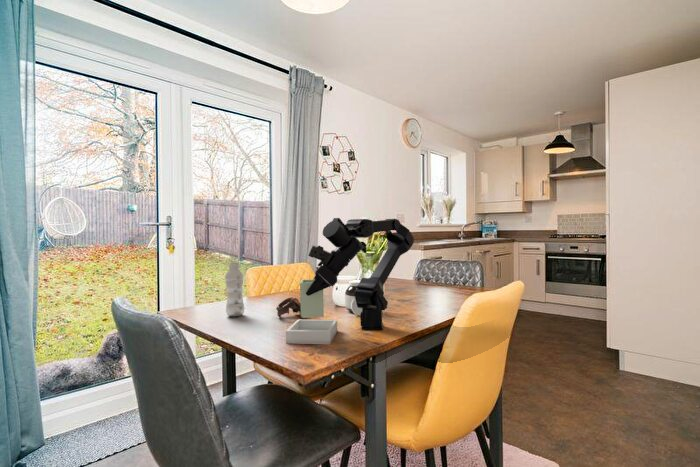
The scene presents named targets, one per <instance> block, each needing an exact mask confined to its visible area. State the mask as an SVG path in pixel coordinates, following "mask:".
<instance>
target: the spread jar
mask: <svg viewBox="0 0 700 467" xmlns="http://www.w3.org/2000/svg"><path fill="white" fill-rule="evenodd" d="M360 281H361V279H355V280H349V284H348V285H349V286H348V287H347V289H346V290H345V293H344V305H345V308H346V310H347V311H348V312H349V313H352V314H355V315H356V316H359V317H360V314H361V312H362V308H358V307H357V303H356V299H355V291H356V289H357V287H356V286H357V285H358V284H359V283H360Z"/></svg>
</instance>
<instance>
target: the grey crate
mask: <svg viewBox="0 0 700 467" xmlns="http://www.w3.org/2000/svg"><path fill="white" fill-rule="evenodd" d="M337 333H338V320H337V319H306V318H303V319H302V318H301V319H296V321H295V322H294V323H292V324H291V325H290V326H289V327H288V328H287V329H286V330H285V343H286V344H298V345H299V344H301V345H302V344H303V345H305V344H307V345H331V344H332V342H333V340H334V338H335V336H336V334H337Z"/></svg>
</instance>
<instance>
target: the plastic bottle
mask: <svg viewBox="0 0 700 467" xmlns="http://www.w3.org/2000/svg"><path fill="white" fill-rule="evenodd" d="M224 281H225V285H226V306H225V312H226V315H227V316H228V317H232V318H233V317H236V316H237V317H240V316H243V314H244V313H245V303H244V298H243V283H244V274H243V273H242V271H241V270H240V262H239V261H238V262H237V261H234V262H228V271H227V272H226V273H225V275H224Z"/></svg>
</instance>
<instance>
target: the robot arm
mask: <svg viewBox="0 0 700 467" xmlns="http://www.w3.org/2000/svg"><path fill="white" fill-rule="evenodd" d="M393 231H395V232H393ZM381 232H385V239H386V242H387V249H386V251H385V253H384V254H383V256H382V257H381V259H380V261H379V263H378V265H376V267H375V269H374V271H373V273H372V274H371V276H370V277H361V279H360V280H361V281H360V283H359V284H358V285H357V286H356V287H357V289H356V291H355V299H356V303H357V307H358V308H362V312H361V314H360V316H359V317H360V327H361V330H363V331H364V330H367V331H368V330H370V331H372V330H376V331H383V327H384V323H383V311H386V310H387V308H388V303H389V302H388V301H387V299H386V298H385V296H384V295H385V291H384V285H385V283H386V282H387V279H388V278H389V276H390V274H391V273H392V270H393V269H394V268H395V266H396V264H397V262H398V260H400V257H401V256H402V255H405V254H406V253H408V252H409V251H410V249H411V248H412V247H413V245H414V239H415V238H414V236H413V234H412V232H411V231H410V230H409V228H407V227H406V226H405V225H403V224H402V223H401V222H400V220H399V219H397V218H385V219H381V220H373V219H367V218H357V219H355V218H353V219H348V220H347V221H346V224H345V223H344V222H343V221H342V220H341V218H340V217H333V218H332V221H329V222H328V223H327V224H326V225H325V226H324V227H323V229H322V235H323V237H324V238H326V240H327V241H329V242H330V243H331V244H332V245H333V246H334V247H336V248H335V249H332V250H331V251H330V252H329V251H328V250H326V249H324V247H323V246H321V245H316V246H315V245H312V246H311V248H310V250H309V252H308V254H307V255H308V257H309V258H313V259H316V260H319V263H317V266H316V268H315V269H316V270H315V276H314V277H313V279H315V280H314V281H313V283H312V284H311V286H310V287H309V289H308V290H307V292H306V295H307V296H309V295H312V294H314V293H316V292H318V291H320V290H323V291H324V290H325V289H328V288H330V287H333V286H334V285H336V284H337V282H338V276H339V275H340V273H341V271H343V270H344V268H345V267H346V268H347V267H348V265H349V263H350V262H351V261H352V260H353V259H354V258H355V257H356V256H357V255H358V254H359V253H360V252H362V253H364V254H367V247H368V246H367V243H366V242H364V241H360V240H359V239H361V238H362V239H367V238H369V237H371V236H374V235H373V234H376V233H381Z"/></svg>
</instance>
